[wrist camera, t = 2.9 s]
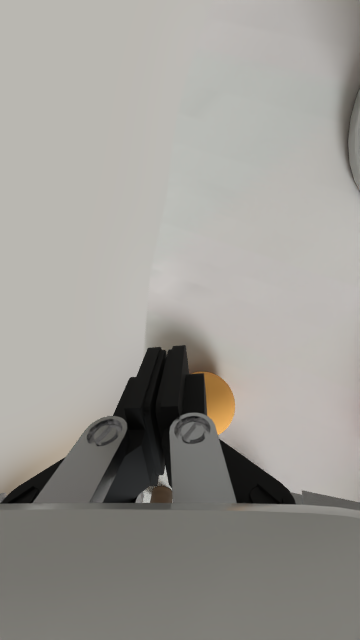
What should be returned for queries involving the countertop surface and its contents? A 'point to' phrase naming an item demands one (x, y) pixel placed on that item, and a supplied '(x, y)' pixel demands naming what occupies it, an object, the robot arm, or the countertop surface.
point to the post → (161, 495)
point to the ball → (218, 401)
